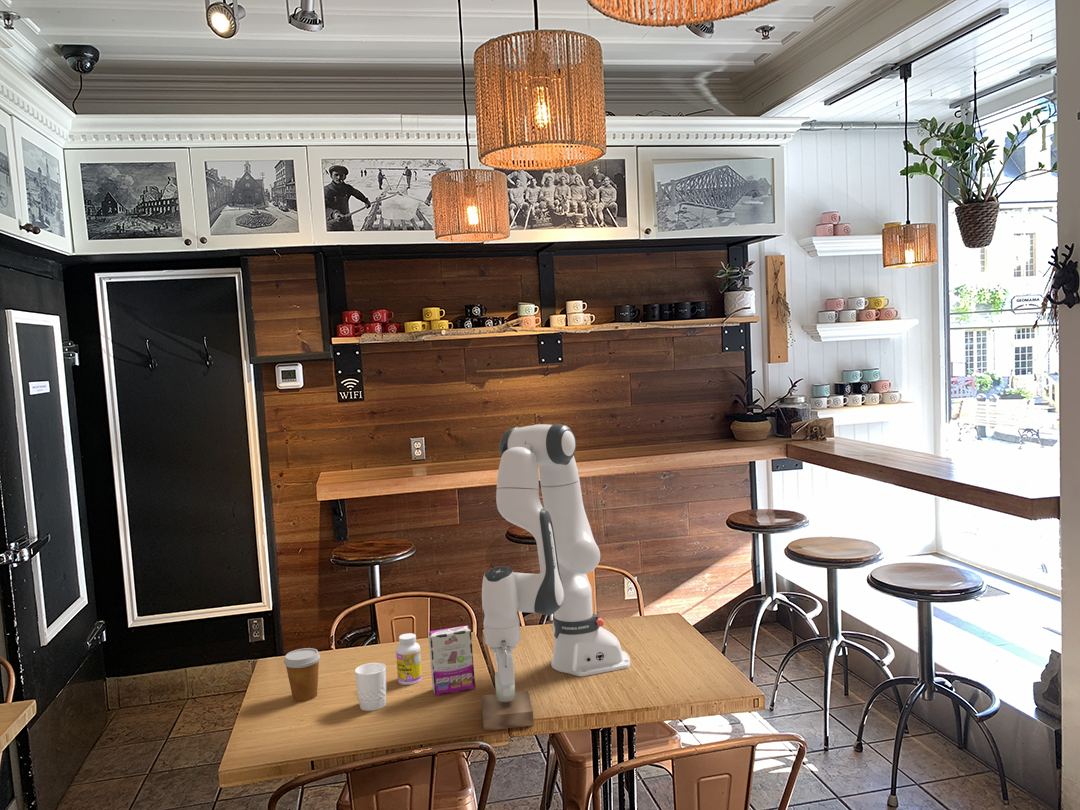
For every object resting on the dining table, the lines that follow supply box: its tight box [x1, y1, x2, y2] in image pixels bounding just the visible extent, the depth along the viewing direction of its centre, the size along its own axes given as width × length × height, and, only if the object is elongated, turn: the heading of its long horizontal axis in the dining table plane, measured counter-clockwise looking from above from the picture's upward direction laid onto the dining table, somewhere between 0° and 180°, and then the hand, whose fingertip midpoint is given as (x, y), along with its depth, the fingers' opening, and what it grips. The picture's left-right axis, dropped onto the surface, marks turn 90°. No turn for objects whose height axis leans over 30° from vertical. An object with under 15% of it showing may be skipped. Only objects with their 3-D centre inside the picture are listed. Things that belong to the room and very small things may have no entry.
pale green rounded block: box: [494, 671, 516, 702], centre depth 201 cm, size 5×5×6 cm
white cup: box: [354, 662, 387, 712], centre depth 212 cm, size 8×8×10 cm
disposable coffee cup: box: [283, 647, 321, 702], centre depth 220 cm, size 10×10×12 cm
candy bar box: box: [427, 625, 476, 697], centre depth 219 cm, size 11×5×16 cm, turn 106°
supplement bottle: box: [395, 632, 423, 686], centre depth 227 cm, size 7×7×13 cm
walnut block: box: [480, 690, 535, 732], centre depth 201 cm, size 12×12×4 cm
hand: (505, 689), depth 201 cm, fingers closed on pale green rounded block, 5 cm apart
